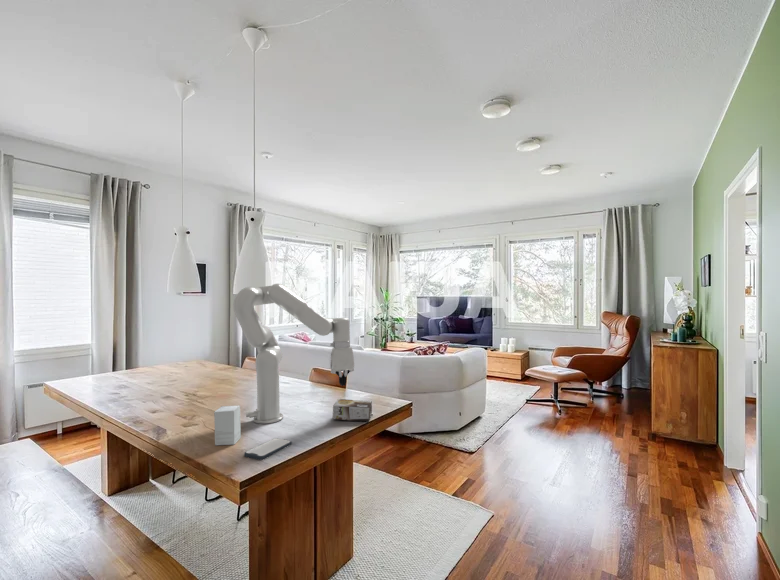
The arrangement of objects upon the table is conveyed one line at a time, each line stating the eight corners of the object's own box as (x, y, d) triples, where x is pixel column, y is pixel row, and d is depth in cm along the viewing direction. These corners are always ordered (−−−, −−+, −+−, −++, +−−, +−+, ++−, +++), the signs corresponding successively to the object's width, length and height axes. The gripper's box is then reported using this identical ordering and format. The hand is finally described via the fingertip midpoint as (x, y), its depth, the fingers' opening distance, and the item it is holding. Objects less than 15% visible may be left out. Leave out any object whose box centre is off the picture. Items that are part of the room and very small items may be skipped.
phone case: (274, 441, 144) (242, 457, 130) (274, 437, 144) (242, 452, 130) (293, 445, 141) (262, 461, 126) (293, 440, 141) (262, 456, 126)
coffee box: (332, 419, 164) (369, 422, 163) (332, 405, 164) (369, 407, 163) (337, 412, 173) (372, 414, 172) (337, 398, 173) (372, 400, 172)
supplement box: (241, 437, 147) (241, 405, 147) (234, 445, 140) (234, 410, 140) (222, 438, 147) (221, 405, 147) (214, 445, 140) (213, 411, 140)
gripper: (327, 347, 166) (328, 389, 166) (359, 344, 172) (360, 384, 172) (323, 345, 173) (324, 385, 173) (354, 342, 179) (355, 381, 179)
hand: (342, 385), depth 173 cm, fingers closed
